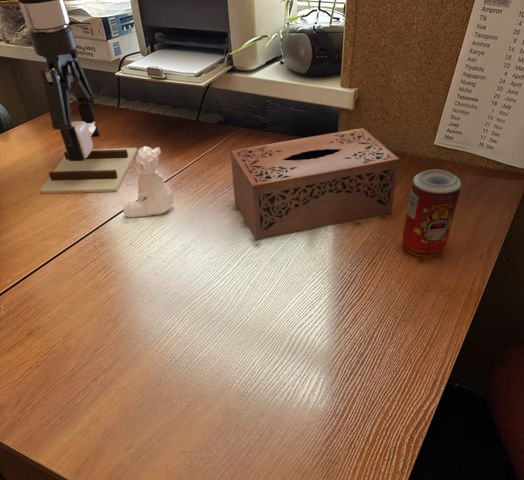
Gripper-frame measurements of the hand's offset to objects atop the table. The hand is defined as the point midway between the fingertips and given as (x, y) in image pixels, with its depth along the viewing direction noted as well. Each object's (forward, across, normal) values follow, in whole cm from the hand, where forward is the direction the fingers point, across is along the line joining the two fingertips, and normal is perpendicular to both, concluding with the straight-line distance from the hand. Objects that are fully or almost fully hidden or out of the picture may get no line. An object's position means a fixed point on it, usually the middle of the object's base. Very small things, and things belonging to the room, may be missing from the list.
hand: (85, 147), depth 106 cm
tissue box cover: (+5, +18, +47) cm, 51 cm away
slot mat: (+5, 0, 0) cm, 5 cm away
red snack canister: (+5, +32, +65) cm, 73 cm away
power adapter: (0, 0, 0) cm, 0 cm away
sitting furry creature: (+5, +17, +17) cm, 25 cm away
